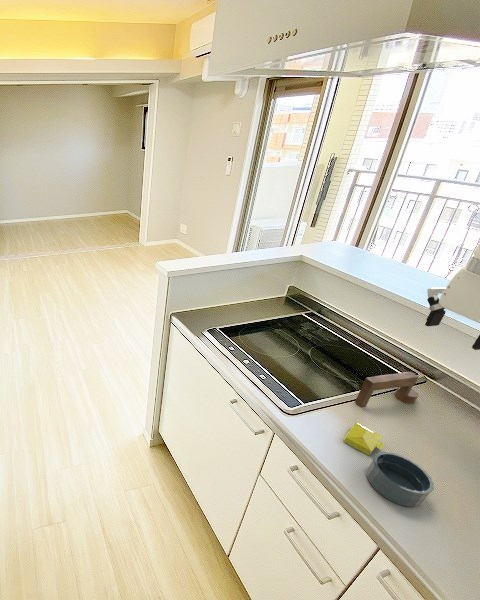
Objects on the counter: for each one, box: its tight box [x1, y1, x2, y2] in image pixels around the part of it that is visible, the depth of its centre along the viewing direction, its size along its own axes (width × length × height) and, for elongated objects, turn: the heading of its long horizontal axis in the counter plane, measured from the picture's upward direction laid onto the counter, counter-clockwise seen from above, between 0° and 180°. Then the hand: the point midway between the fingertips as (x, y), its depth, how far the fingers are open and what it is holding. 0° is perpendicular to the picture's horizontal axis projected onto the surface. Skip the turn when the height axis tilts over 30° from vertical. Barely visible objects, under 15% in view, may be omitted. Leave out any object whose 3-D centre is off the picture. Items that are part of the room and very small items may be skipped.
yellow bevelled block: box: [343, 421, 390, 456], centre depth 82 cm, size 10×9×3 cm
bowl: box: [365, 451, 435, 508], centre depth 71 cm, size 10×10×5 cm
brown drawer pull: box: [354, 371, 420, 408], centre depth 92 cm, size 17×4×9 cm, turn 98°
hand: (453, 336), depth 76 cm, fingers open, 9 cm apart
